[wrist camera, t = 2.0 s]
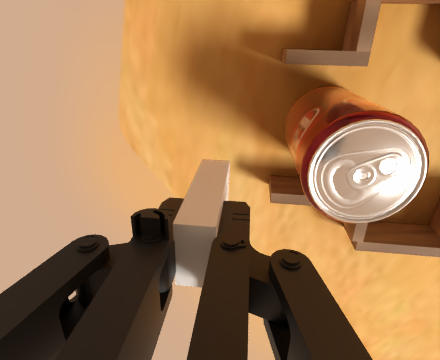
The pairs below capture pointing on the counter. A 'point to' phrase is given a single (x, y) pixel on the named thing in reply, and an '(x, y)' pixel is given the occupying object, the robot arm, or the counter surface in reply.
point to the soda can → (354, 155)
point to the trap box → (290, 186)
